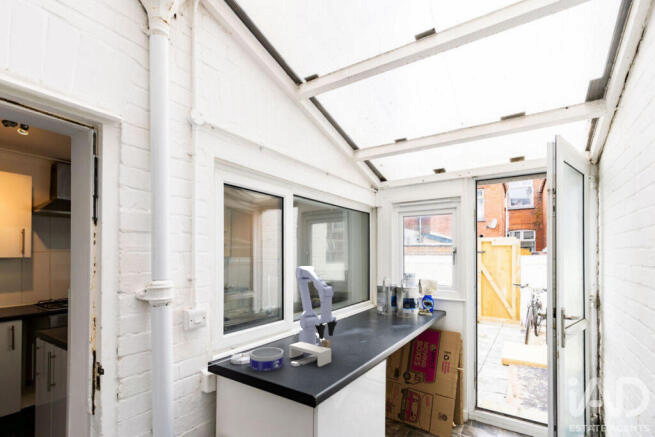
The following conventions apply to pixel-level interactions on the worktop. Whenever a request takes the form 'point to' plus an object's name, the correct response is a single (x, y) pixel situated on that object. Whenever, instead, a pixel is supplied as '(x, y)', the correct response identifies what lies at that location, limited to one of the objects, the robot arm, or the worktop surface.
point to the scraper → (314, 357)
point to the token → (295, 363)
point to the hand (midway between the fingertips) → (326, 337)
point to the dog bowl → (266, 359)
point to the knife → (318, 337)
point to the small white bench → (311, 352)
